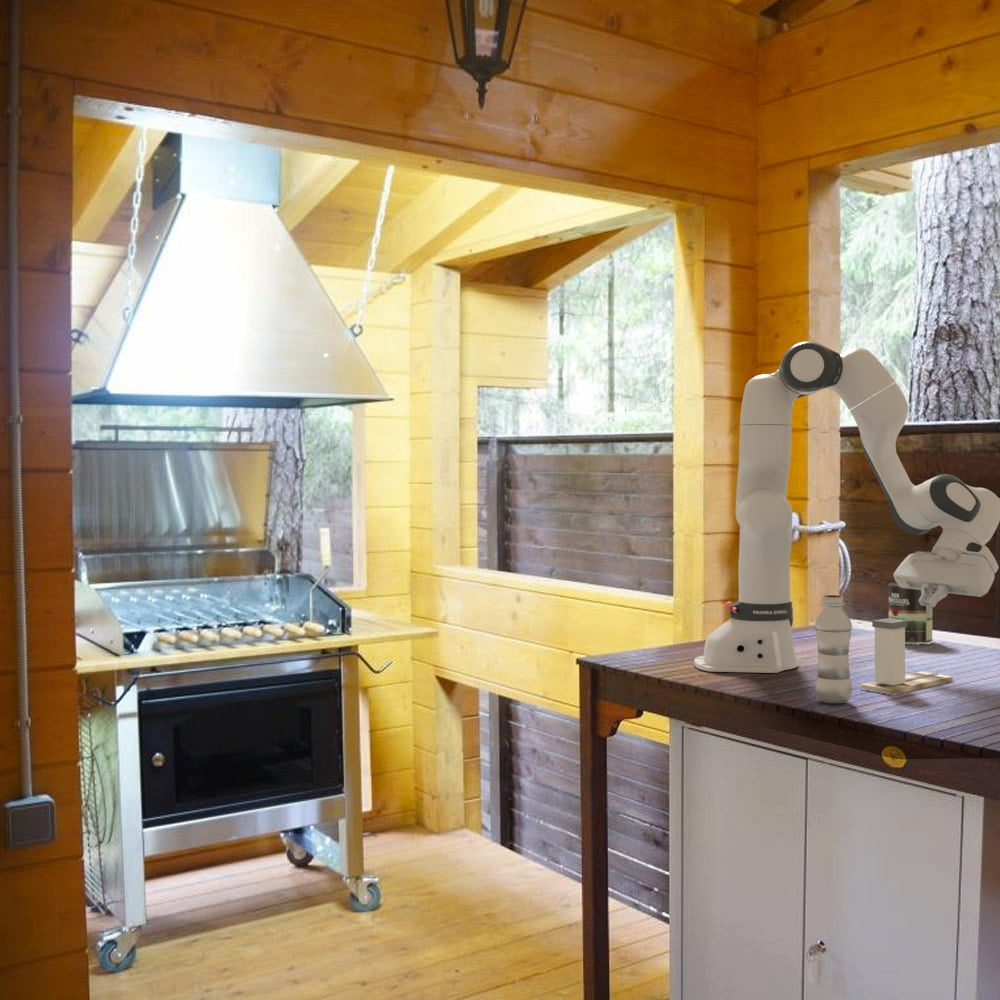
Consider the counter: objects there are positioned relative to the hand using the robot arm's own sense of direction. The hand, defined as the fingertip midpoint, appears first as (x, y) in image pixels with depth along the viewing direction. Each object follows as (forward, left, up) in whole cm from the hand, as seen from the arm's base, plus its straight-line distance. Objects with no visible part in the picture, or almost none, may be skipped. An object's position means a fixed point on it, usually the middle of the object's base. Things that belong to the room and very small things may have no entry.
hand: (925, 604), depth 227 cm
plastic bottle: (-24, -21, -15) cm, 36 cm away
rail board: (-6, -6, -15) cm, 18 cm away
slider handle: (-10, -10, -14) cm, 20 cm away
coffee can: (+12, +45, -15) cm, 49 cm away
